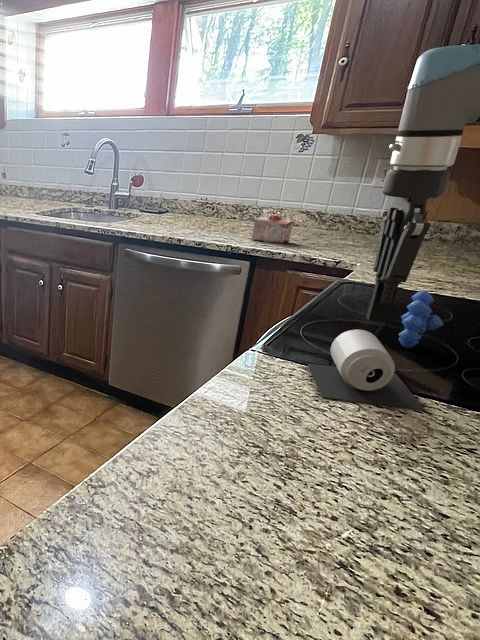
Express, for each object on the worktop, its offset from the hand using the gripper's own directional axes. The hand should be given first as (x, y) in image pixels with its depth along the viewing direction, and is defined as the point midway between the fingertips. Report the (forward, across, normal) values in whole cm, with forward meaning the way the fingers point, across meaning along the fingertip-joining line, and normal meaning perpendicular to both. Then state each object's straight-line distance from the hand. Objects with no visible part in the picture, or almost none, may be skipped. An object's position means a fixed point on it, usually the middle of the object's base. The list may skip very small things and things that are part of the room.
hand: (376, 319), depth 86 cm
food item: (+12, -130, 0) cm, 131 cm away
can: (+7, -6, 0) cm, 10 cm away
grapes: (+12, -20, +14) cm, 27 cm away
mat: (+11, +2, 0) cm, 12 cm away
